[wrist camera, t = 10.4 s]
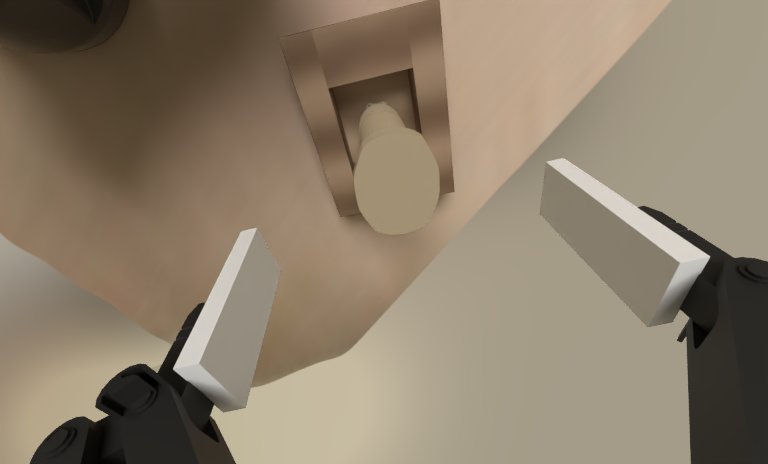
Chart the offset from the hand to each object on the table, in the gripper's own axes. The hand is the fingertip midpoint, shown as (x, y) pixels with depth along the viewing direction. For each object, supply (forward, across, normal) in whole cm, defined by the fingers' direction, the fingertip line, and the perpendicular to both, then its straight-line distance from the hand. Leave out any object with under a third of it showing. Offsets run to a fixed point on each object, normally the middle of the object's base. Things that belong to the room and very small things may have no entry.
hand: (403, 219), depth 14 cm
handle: (+19, 0, 0) cm, 19 cm away
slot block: (+19, 0, 0) cm, 19 cm away
